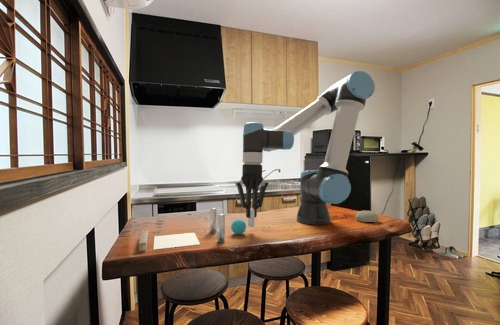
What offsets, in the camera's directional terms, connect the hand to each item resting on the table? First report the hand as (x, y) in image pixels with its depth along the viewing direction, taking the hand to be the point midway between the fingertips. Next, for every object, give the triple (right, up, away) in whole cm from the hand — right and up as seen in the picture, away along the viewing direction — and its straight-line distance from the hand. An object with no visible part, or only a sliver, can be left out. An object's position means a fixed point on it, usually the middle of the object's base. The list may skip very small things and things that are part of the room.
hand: (251, 226), depth 91 cm
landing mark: (-25, -2, -10) cm, 27 cm away
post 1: (-14, -3, +1) cm, 15 cm away
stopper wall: (-35, -2, -13) cm, 37 cm away
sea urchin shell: (+53, -3, +19) cm, 57 cm away
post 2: (-10, -2, -11) cm, 15 cm away
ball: (-5, 0, -2) cm, 5 cm away
